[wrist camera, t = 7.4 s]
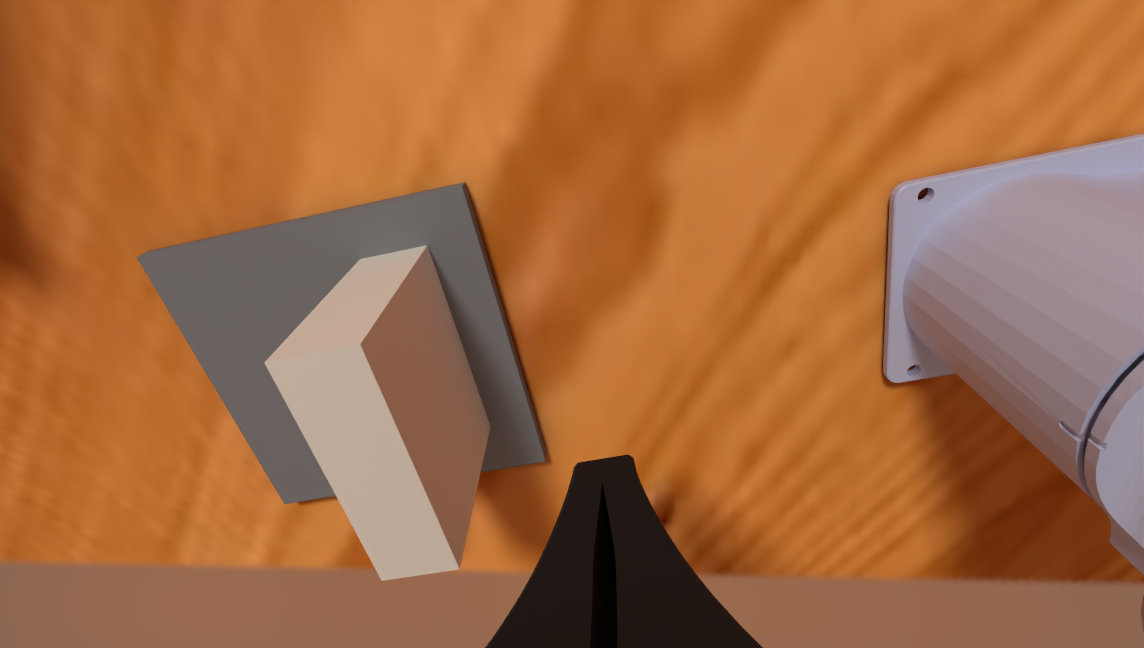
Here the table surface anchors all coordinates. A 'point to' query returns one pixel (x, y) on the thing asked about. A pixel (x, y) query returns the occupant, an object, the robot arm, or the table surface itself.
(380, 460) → the block
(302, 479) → the mat
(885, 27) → the table surface
